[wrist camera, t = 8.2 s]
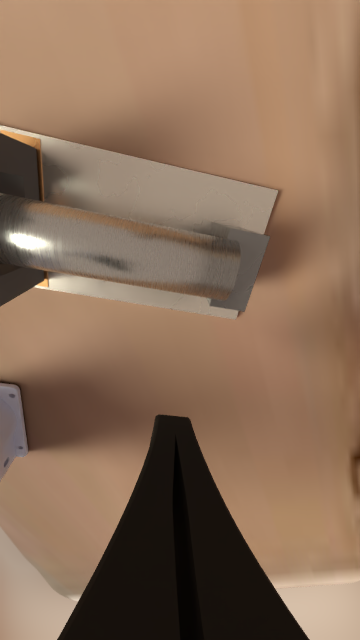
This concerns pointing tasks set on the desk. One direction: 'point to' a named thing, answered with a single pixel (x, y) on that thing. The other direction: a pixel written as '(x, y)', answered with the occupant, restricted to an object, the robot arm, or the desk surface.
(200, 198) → the rail
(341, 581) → the desk surface
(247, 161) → the desk surface
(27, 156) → the collar
